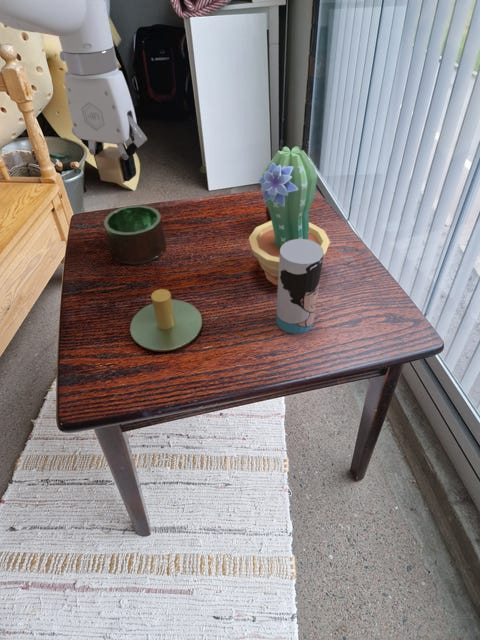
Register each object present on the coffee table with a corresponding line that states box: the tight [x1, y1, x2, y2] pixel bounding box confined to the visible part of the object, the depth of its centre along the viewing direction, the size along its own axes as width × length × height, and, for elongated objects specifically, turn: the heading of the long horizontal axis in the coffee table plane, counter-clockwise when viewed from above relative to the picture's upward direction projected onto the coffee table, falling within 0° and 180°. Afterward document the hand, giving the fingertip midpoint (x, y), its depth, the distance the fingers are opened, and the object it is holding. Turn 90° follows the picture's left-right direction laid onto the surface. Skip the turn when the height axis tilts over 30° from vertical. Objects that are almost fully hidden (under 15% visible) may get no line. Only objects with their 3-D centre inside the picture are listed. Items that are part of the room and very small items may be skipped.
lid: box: [129, 288, 203, 353], centre depth 72 cm, size 13×13×8 cm
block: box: [94, 145, 126, 185], centre depth 75 cm, size 4×4×4 cm
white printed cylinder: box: [275, 239, 324, 335], centre depth 70 cm, size 7×7×15 cm
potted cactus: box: [248, 145, 331, 286], centre depth 77 cm, size 15×15×25 cm
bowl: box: [103, 204, 167, 266], centre depth 90 cm, size 12×12×8 cm
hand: (117, 175), depth 77 cm, fingers closed on block, 4 cm apart
